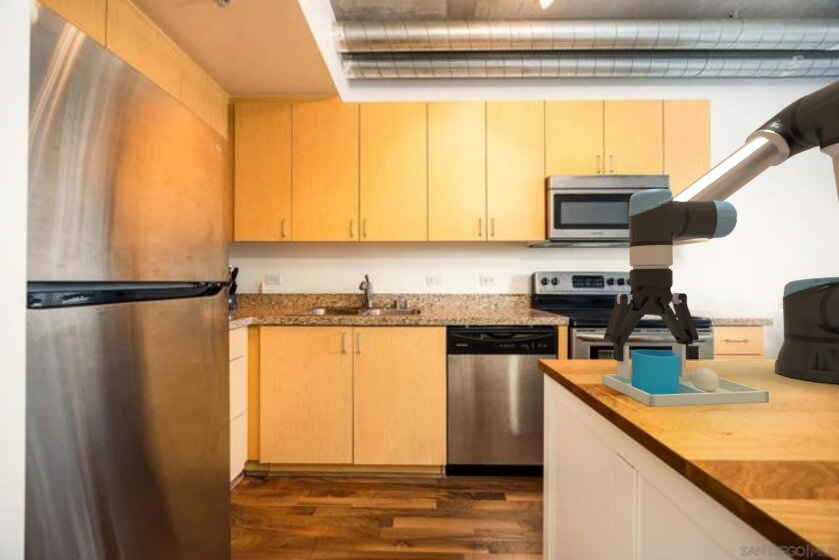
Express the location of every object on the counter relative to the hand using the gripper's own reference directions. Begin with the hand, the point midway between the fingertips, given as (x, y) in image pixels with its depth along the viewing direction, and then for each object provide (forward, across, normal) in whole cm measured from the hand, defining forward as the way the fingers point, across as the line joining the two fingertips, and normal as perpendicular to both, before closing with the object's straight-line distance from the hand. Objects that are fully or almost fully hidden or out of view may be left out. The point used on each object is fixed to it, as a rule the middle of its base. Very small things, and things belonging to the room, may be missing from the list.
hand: (651, 376), depth 79 cm
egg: (+3, -12, 0) cm, 12 cm away
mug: (+3, -1, 0) cm, 4 cm away
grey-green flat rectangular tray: (+4, -6, 0) cm, 7 cm away
